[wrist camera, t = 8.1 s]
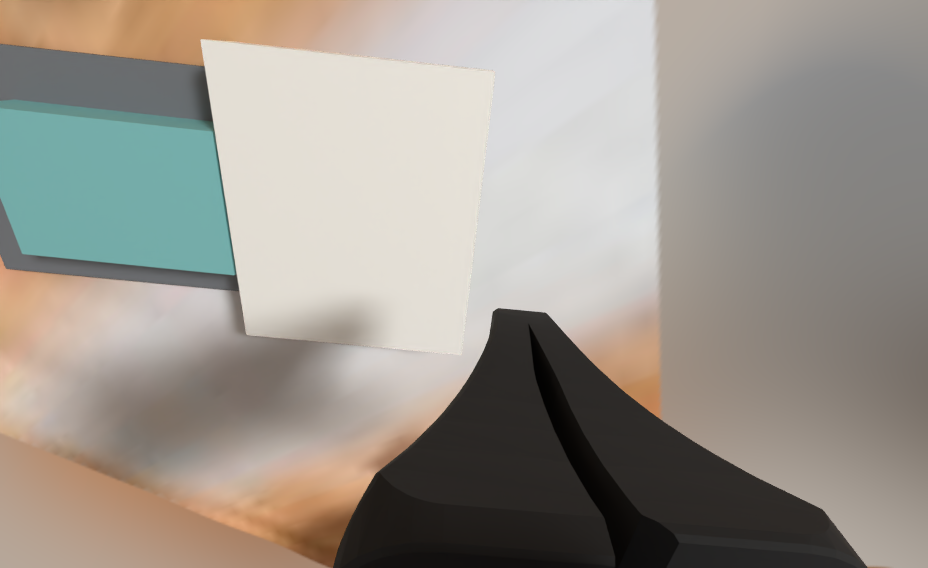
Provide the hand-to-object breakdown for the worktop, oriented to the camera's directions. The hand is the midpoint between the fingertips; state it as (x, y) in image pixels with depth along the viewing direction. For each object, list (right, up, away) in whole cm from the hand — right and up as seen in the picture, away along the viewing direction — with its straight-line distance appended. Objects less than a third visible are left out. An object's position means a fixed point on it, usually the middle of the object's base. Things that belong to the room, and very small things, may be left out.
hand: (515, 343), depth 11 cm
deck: (-6, +5, +9) cm, 12 cm away
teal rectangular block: (-15, +6, +8) cm, 18 cm away
